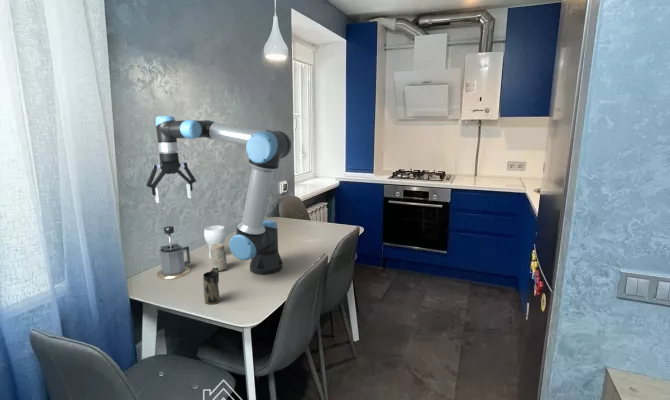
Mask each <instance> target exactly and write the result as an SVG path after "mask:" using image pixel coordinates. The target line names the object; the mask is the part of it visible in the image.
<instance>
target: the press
mask: <svg viewBox="0 0 670 400" xmlns="http://www.w3.org/2000/svg"><path fill="white" fill-rule="evenodd" d="M171 251H172V252H171ZM184 251H186V261H185V256H184V254H185V253H184ZM158 252H159V259H160V260H159V262H160V268H161V270H158V271H157V272H156V278H158V279H159V280H174V279H175V280H176V279H179V278H183V277H185V276H187V275H189V274H190V273H191V268H190V267H188V266H186V265H190V264H191V255H190V246H182V245H180V244H178V243H172V248H170V244H168V245H167V244H166V245H163V246H160V248H159V249H158Z"/></svg>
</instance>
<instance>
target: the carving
mask: <svg viewBox="0 0 670 400" xmlns="http://www.w3.org/2000/svg"><path fill="white" fill-rule="evenodd" d="M209 251H210V253H211V258H210V261H211V267H212V269H213V268H218V270H219V271H223V270H226V269H227V267H228V262H227V256H226V250H225V245H223V244H221V243H218V244H214V245H212V246H211V247H210V250H209Z"/></svg>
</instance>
